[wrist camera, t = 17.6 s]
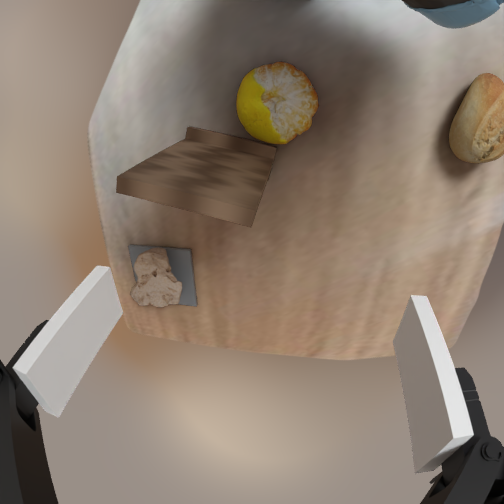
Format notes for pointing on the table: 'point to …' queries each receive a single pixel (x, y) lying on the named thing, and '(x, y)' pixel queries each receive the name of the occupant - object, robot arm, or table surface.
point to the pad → (174, 269)
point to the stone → (155, 280)
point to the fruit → (276, 102)
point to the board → (205, 176)
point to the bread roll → (480, 122)
